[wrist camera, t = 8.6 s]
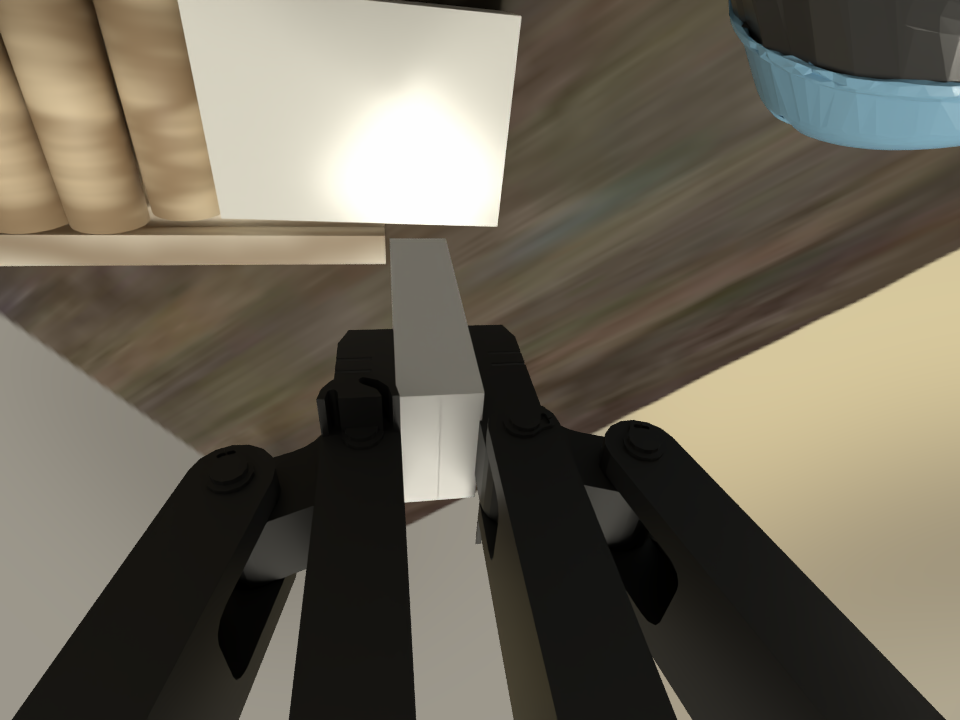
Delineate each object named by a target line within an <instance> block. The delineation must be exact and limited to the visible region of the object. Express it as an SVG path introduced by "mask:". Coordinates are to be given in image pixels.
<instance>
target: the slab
mask: <svg viewBox="0 0 960 720" xmlns="http://www.w3.org/2000/svg"><path fill="white" fill-rule="evenodd" d="M177 1H178V6H179V11H180V16H181V20H182V25H183V30H184V35H185V40H186V45H187V50H188V55H189V60H190V65H191V70H192V75H193V80H194V85H195V90H196V95H197V100H198V105H199V110H200V115H201V120H202V125H203V130H204V134H205V139H206V144H207V149H208V154H209V159H210V164H211V169H212V174H213V179H214V184H215V189H216V194H217V199H218V204H219V209H220V214H221V218H222V219H256V220H290V221H325V222H359V223H393V224H428V225H462V226H497V224H498V215H499V206H500V198H501V189H502V180H503V172H504V163H505V154H506V146H507V137H508V128H509V120H510V111H511V102H512V94H513V85H514V76H515V68H516V59H517V50H518V42H519V33H520V24H521V16H519V15H516V14H513V13H510V12H507V11H499V10H489V9H479V8H470V7H460V6H450V5H441V4H431V3H422V2H412V1H402V0H177Z"/></svg>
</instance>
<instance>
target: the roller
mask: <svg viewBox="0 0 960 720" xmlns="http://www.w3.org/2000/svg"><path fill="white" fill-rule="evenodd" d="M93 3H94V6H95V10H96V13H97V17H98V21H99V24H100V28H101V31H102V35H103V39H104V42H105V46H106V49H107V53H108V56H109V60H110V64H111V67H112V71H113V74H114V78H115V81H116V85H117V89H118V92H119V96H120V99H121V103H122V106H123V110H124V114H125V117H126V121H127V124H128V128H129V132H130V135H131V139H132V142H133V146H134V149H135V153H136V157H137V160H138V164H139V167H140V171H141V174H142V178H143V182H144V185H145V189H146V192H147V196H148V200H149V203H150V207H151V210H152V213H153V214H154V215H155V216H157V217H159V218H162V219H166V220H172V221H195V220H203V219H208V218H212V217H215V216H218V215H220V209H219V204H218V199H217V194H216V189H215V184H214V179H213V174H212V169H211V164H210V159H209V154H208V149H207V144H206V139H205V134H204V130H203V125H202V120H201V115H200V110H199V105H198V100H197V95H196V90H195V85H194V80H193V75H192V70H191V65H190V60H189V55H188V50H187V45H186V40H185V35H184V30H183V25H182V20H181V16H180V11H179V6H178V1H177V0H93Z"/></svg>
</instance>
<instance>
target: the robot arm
mask: <svg viewBox="0 0 960 720" xmlns="http://www.w3.org/2000/svg"><path fill="white" fill-rule="evenodd" d="M729 16H730V22H731V24H732V26H733V29H734V31H735V33H736V34H737V36H738V37H739V39H740V40H741V42H743V44H744V47H745V50H746V54H747V57H748V61H749V64H750V68H751V72H752V75H753V79H754V82H755V85H756V88H757V91H758V93H759V96H760V98H761V100H762V101H763V103H764V104H765V106H766V107H767V109H768V110H769V111H770V112H771V113H772V114H773V115H774V116H775V117H776V118H778V119H780V120H782V121H783V122H786V123H788V124H791V125H792V126H793V127H794V128H795V129H797V130H798V131H799V132H800V133H802V134H804V135H806V136H808V137H811V138H814V139H817V140H821V141H824V142H828V143H832V144H837V145H842V146H848V147H855V148H864V149H876V150H918V149H934V148H946V147H955V146H960V0H729ZM390 260H391V290H392V319H393V329H377V330H349V331H348V332H347V333H346V334H345V336H344V337H343V338H342V339H341V340H340V342H339V343H338V348H337V357H336V366H335V376H334V380H332V381H330V382H329V383H328V384H327V385H325V386H324V387H323V388H322V389H321V390H320V392H319V395H318V397H317V399H316V400H317V407H318V414H319V421H320V427H321V434H322V435H321V436H320V437H318V438H317V439H316V440H315V441H314V442H312V443H310V444H309V445H307V446H306V447H304V448H301V449H298V450H296V451H293V452H290V453H287V454H283V455H280V456H277V457H274V458H273V457H272V456H271V455H270V454H269V453H267V452H266V451H265V450H264V449H262V448H259V447H255V446H252V445H232V446H228V447H225V448H221V449H218V450H215V451H213V452H211V453H210V454H208V455H206V456H204V457H202V458H201V459H199V460H198V461H197V463H196V464H194V465H193V466H192V468H190V469H189V471H188V472H187V473H186V475H185V476H184V478H183V479H182V480H181V482H180V483H179V484H178V486H177V487H176V489H175V490H174V492H173V493H172V494H171V496H170V497H169V499H168V500H167V501H166V503H165V504H164V506H163V507H162V508H161V510H160V511H159V513H158V514H157V516H156V517H155V518H154V520H153V521H152V523H151V524H150V525H149V527H148V528H147V530H146V531H145V533H144V534H143V536H142V537H141V538H140V540H139V541H138V542H137V544H136V545H135V547H134V548H133V550H132V551H131V552H130V554H129V555H128V557H127V558H126V559H125V561H124V562H123V564H122V565H121V566H120V568H119V569H118V571H117V572H116V573H115V575H114V576H113V578H112V579H111V580H110V582H109V584H108V585H107V586H106V587H105V589H104V590H103V592H102V593H101V595H100V596H99V597H98V599H97V600H96V602H95V603H94V604H93V606H92V607H91V609H90V610H89V611H88V613H87V615H86V616H85V617H84V619H83V620H82V621H81V623H80V624H79V626H78V627H77V628H76V630H75V631H74V633H73V634H72V635H71V637H70V638H69V640H68V641H67V643H66V644H65V646H64V647H63V648H62V650H61V651H60V653H59V654H58V655H57V657H56V658H55V660H54V661H53V662H52V664H51V665H50V667H49V668H48V669H47V671H46V672H45V674H44V675H43V676H42V678H41V679H40V681H39V682H38V684H37V685H36V686H35V688H34V689H33V691H32V692H31V693H30V695H29V696H28V698H27V699H26V700H25V702H24V703H23V705H22V706H21V707H20V709H19V710H18V712H17V713H16V714H15V716H14V717H13V719H12V720H239V717H240V715H241V712H242V710H243V707H244V705H245V703H246V700H247V697H248V695H249V692H250V690H251V688H252V685H253V683H254V680H255V677H256V675H257V672H258V670H259V668H260V665H261V663H262V660H263V658H264V655H265V652H266V650H267V647H268V645H269V643H270V640H271V638H272V635H273V633H274V630H275V628H276V625H277V623H278V620H279V617H280V615H281V613H282V610H283V607H284V605H285V603H286V600H287V598H288V595H289V593H290V590H291V587H292V585H293V583H294V580H295V578H296V573H297V572H299V571H302V570H304V569H306V577H305V586H304V594H303V603H302V612H301V620H300V629H299V638H298V646H297V654H296V664H295V671H294V680H293V689H292V697H291V706H290V714H289V720H416V709H415V692H414V672H413V653H412V635H411V616H410V597H409V579H408V578H409V577H408V559H407V540H406V521H405V502H416V501H429V500H441V499H454V498H466V497H474V496H475V488H476V484H477V489H478V494H479V500H480V502H479V513H478V522H477V532H476V544H480V543H481V540H482V544H483V550H484V556H485V561H486V567H487V572H488V578H489V584H490V589H491V595H492V600H493V606H494V611H495V617H496V623H497V628H498V634H499V640H500V645H501V651H502V656H503V662H504V668H505V673H506V679H507V684H508V690H509V696H510V701H511V706H512V712H513V718H514V720H677V718H676V715H675V713H674V710H673V708H672V705H671V703H670V700H669V698H668V695H667V693H666V690H665V688H664V685H663V683H662V680H661V678H660V675H659V673H658V670H657V668H656V665H655V662H656V663H657V665H658V666H659V668H660V669H661V671H662V673H663V674H664V676H665V677H666V679H667V680H668V682H669V684H670V685H671V687H672V688H673V690H674V691H675V693H676V695H677V696H678V698H679V699H680V701H681V703H682V704H683V705H684V707H685V709H686V710H687V712H688V714H689V715H690V717H691V718H692V720H946V719H945V718H944V717H943V716H942V715H941V714H940V713H939V712H938V711H937V710H936V709H935V708H934V707H933V706H932V705H931V704H930V703H929V702H928V701H927V700H926V699H925V698H924V697H923V696H922V695H921V694H920V692H919V691H918V690H917V689H916V688H915V687H913V685H912V684H911V683H910V682H909V681H908V680H907V679H906V678H905V677H904V676H903V675H902V674H901V673H900V672H899V671H898V670H897V669H896V668H895V667H894V666H893V665H892V664H891V663H890V661H888V659H887V658H886V657H885V656H883V654H882V653H881V652H880V651H879V650H878V649H877V648H876V647H875V646H874V645H873V644H872V643H871V642H870V641H869V640H868V639H867V638H866V637H865V636H864V635H863V634H862V633H861V632H860V631H859V630H858V628H857V627H856V626H855V625H854V624H853V623H852V622H851V621H850V620H849V619H848V618H847V617H846V616H845V615H844V614H843V613H842V612H841V611H840V610H839V609H838V608H837V607H836V606H835V605H834V604H833V603H832V602H831V601H830V600H829V599H828V598H827V596H826V595H825V594H824V593H823V592H822V591H821V590H820V589H819V588H818V587H817V586H816V585H815V584H814V583H813V582H812V581H811V580H810V579H809V578H808V577H807V576H806V575H805V574H804V573H803V572H802V571H801V570H800V569H799V568H798V567H797V565H796V564H795V563H794V562H793V561H792V560H791V559H790V558H789V557H788V556H787V555H786V554H785V553H784V552H783V551H782V550H781V549H780V548H779V547H778V546H777V545H776V544H775V543H774V542H773V541H772V540H771V539H770V538H769V536H767V534H766V533H765V532H763V530H762V529H761V528H760V527H759V526H758V525H757V524H756V523H755V522H754V521H753V520H752V519H751V518H750V517H749V516H748V515H747V514H746V513H745V512H744V511H743V510H742V509H741V508H740V507H739V505H738V504H736V503H735V501H734V500H733V499H732V498H731V497H730V496H729V495H728V494H727V493H726V492H725V491H724V490H723V489H722V488H721V487H720V486H719V485H718V484H717V483H716V482H715V481H714V480H713V479H712V478H711V477H710V476H709V475H708V473H706V472H705V470H704V469H703V468H702V467H701V466H700V465H699V464H698V463H697V462H696V461H695V460H694V459H693V458H692V457H691V456H690V455H689V454H688V453H687V452H686V451H685V450H684V449H683V448H682V447H681V446H680V445H679V444H678V442H677V441H675V439H674V438H673V437H671V436H670V435H669V434H668V433H666V432H665V431H664V430H662V429H661V428H659V427H657V426H654V425H652V424H650V423H647V422H641V421H635V420H630V421H620V422H618V423H616V424H614V425H612V426H610V428H609V429H608V431H607V432H606V434H605V437H603V436H597V435H592V434H586V433H581V432H577V431H573V430H569V429H567V428H565V427H563V426H560V423H559V421H558V420H557V418H556V417H555V416H554V414H553V413H552V412H550V411H549V410H547V409H546V408H545V407H543V406H541V405H540V402H539V400H538V397H537V394H536V392H535V389H534V386H533V384H532V381H531V378H530V376H529V373H528V370H527V368H526V365H524V360H523V357H522V354H521V353H520V349H519V346H518V344H517V341H516V338H515V336H514V335H513V334H511V333H510V332H509V331H508V330H507V329H506V328H505V327H504V326H503V325H475V326H468V325H467V321H466V317H465V313H464V309H463V305H462V301H461V297H460V293H459V289H458V285H457V281H456V278H455V274H454V270H453V266H452V262H451V258H450V254H449V250H448V246H447V242H446V239H390ZM653 658H654V660H655V662H654V660H653Z"/></svg>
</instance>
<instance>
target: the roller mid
mask: <svg viewBox="0 0 960 720" xmlns="http://www.w3.org/2000/svg"><path fill="white" fill-rule="evenodd" d="M0 33H1V35H2V38H3V41H4V44H5V47H6V49H7V52H8V55H9V58H10V60H11V63H12V66H13V69H14V72H15V74H16V77H17V80H18V83H19V86H20V88H21V91H22V94H23V97H24V100H25V102H26V105H27V108H28V111H29V113H30V116H31V119H32V122H33V125H34V127H35V130H36V133H37V136H38V139H39V141H40V144H41V147H42V150H43V152H44V155H45V158H46V161H47V164H48V166H49V169H50V172H51V175H52V178H53V180H54V183H55V186H56V189H57V191H58V194H59V197H60V200H61V203H62V205H63V208H64V211H65V214H66V217H67V219H68V222H69V225H70V227H71V228H72V229H74V230H76V231H78V232H82V233H88V234H115V233H122V232H127V231H131V230H135V229H138V228H140V227H142V226H144V225H146V224H147V223H148V222H149V221H150V215H149V211H148V207H147V204H146V200H145V196H144V192H143V188H142V185H141V181H140V177H139V173H138V170H137V166H136V162H135V158H134V154H133V151H132V147H131V143H130V139H129V135H128V132H127V128H126V124H125V120H124V116H123V113H122V109H121V105H120V101H119V98H118V94H117V90H116V86H115V82H114V79H113V75H112V71H111V67H110V63H109V60H108V56H107V52H106V48H105V44H104V41H103V37H102V33H101V29H100V26H99V22H98V18H97V14H96V10H95V7H94V3H93V0H0Z"/></svg>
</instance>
